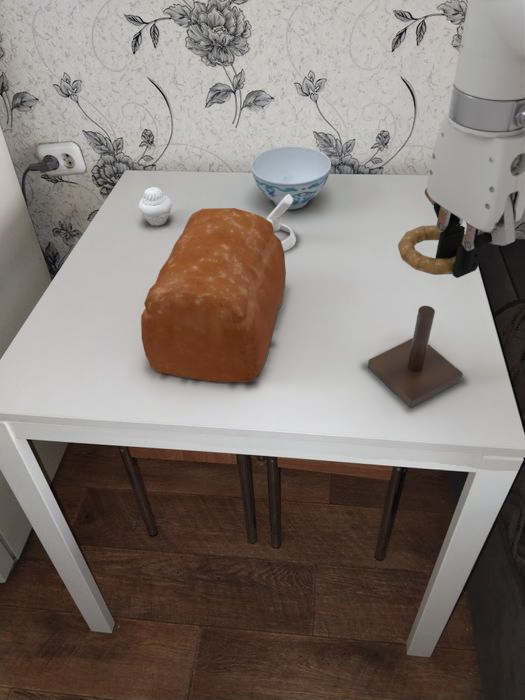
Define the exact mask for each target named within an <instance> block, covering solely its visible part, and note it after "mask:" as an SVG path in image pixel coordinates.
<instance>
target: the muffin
mask: <svg viewBox="0 0 525 700" xmlns="http://www.w3.org/2000/svg"><path fill="white" fill-rule="evenodd" d="M172 204H173V203H172V201H171V199H170V198H169V197H168V196H167V195H166V194H164V192H163V191H162V189H161V188H159V187H156V186H155V187H154V186H152V187H148V188H147V189H145V190H144V191H143V195H142V198H141V199H140V201H139V202H138V205H137V207H138V210H139V212H140V213H141V215H142V216H143V218H144V219H145V220H146V222H148V223H149V224H150V225H151V226H155V227H158V226H163V225H164V224H166V223H167V221H168V219H169V216H170V213H171V211H172V210H171V209H172V207H173V205H172Z"/></svg>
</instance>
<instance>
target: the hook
mask: <svg viewBox="0 0 525 700" xmlns="http://www.w3.org/2000/svg"><path fill="white" fill-rule="evenodd" d="M292 202H293V198H292V197H291V195H290V194H288V195H286V196H285V197H284V198H283V200H282V201H281V202H280V203H279V204H278V205H276V206H275V207H274V208H273V210H272V211H271V212H270V213H269V214H268V216H267V217H266V219H267V220H268V221H270V222H271V223H272V226H273V229H274V232H278V231H283V232H286V233H289V235H288V237H287V238H286V239H283V240H280V241H281V243H282V247H283V250H284V252H286V251H289V250H290V249H293V247H294V246H295V245H296V242H297V237H296V234H295V232H294V231H293V229H292V228H291V227H290V226H289V225H287V224H284V223H281V222H280V218H281V217H282V216H283V215H284V213H285V212H286V211H287V210H289V209H288V208H289V206H290V205H291V204H292Z"/></svg>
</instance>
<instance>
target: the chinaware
mask: <svg viewBox="0 0 525 700" xmlns="http://www.w3.org/2000/svg"><path fill="white" fill-rule="evenodd" d="M250 169H251V174H252V177H253V179H254V182H255V184H256V186H257V187H258V190H260V192H261V193H262V194H263V195H264V196H265V197H266V198H268V199H269V200H271V201H273V202H274V204H275V206H277V205H278V204H279V203H280V202H281V201H282V200H283V198H284V197H285V196H286V195H288V194H290V195H291V197H292V198H293V202H292V204H291V205H290V206H289V208H288V209H287V210H296V209H300V208H303V207H304V206H306V205H307V204H308V202H309V201H310V200H312V199H313V198H315V197H316V196H317V195H318V194H320V192H321V191H322V189H323V188H324V187H325V185H326V183H327V181H328V179H329V175H330V172H331V169H332V162H331V159H330V158H329V156H328V155H326V154H325V153H323V152H322V151H320V150H318V149H315V148H312V147H307V146H299V145H284V146H277V147H273V148H270V149H266V150H265V151H261V152H260V153H259V154H257V155H256V156H254V158H253V159H252V161H251V163H250Z"/></svg>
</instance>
